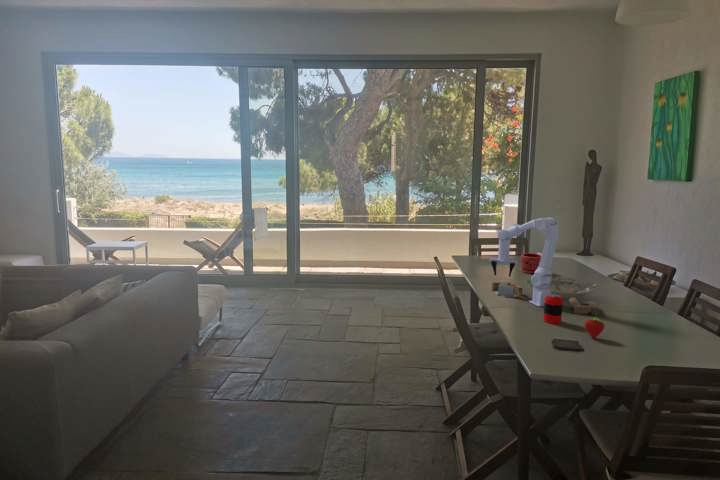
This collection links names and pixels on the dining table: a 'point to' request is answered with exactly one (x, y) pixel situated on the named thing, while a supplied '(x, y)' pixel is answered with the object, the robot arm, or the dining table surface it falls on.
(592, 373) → the dining table surface
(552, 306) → the soda can
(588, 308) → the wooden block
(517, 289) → the corner fence
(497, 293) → the pose pad
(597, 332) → the strawberry
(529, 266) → the plant pot
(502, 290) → the bracket
